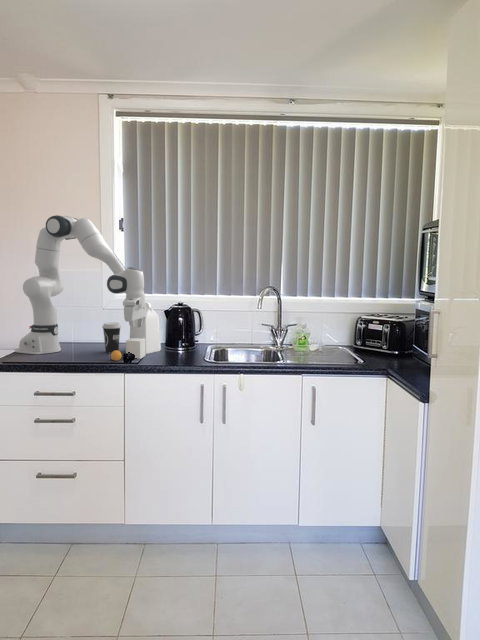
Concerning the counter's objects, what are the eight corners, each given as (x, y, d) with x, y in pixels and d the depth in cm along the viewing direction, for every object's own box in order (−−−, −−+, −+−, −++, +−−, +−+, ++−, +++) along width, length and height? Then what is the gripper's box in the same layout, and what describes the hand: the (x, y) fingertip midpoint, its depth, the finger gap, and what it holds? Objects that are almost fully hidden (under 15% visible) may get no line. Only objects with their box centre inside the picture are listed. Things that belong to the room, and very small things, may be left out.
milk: (160, 350, 246) (160, 302, 243) (146, 353, 236) (145, 303, 233) (144, 347, 252) (143, 301, 249) (129, 351, 242) (128, 302, 239)
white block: (126, 358, 225) (125, 340, 224) (131, 355, 232) (131, 338, 231) (140, 358, 224) (140, 341, 223) (145, 355, 231) (145, 338, 230)
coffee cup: (110, 354, 234) (109, 325, 232) (98, 351, 240) (98, 323, 238) (125, 351, 242) (124, 323, 240) (113, 349, 247) (113, 321, 245)
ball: (109, 361, 217) (108, 351, 217) (113, 359, 222) (113, 349, 222) (119, 362, 217) (119, 351, 216) (123, 359, 222) (123, 349, 221)
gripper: (137, 298, 235) (137, 325, 237) (121, 302, 215) (122, 331, 217) (148, 299, 234) (149, 325, 236) (134, 302, 214) (134, 331, 216)
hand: (136, 328), depth 226 cm, fingers open, 8 cm apart
